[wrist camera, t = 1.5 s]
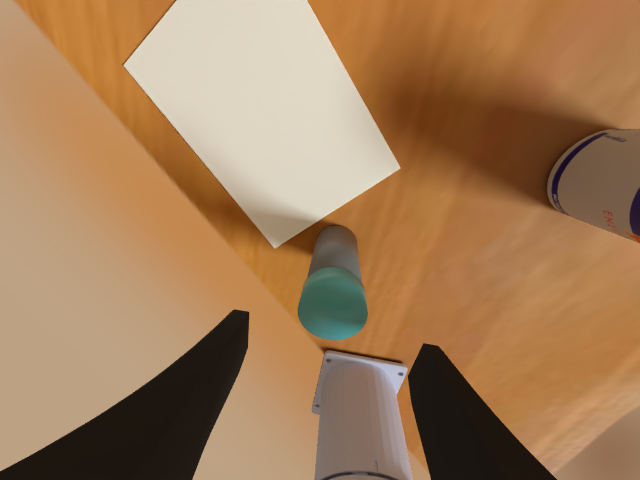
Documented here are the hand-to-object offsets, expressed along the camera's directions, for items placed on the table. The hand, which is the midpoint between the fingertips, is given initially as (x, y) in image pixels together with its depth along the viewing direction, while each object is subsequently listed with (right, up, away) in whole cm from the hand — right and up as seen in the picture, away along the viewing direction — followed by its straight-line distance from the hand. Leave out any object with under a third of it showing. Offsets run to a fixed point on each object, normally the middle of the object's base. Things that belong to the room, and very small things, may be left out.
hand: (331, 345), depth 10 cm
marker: (+1, +4, +9) cm, 10 cm away
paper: (-4, +12, +6) cm, 14 cm away
